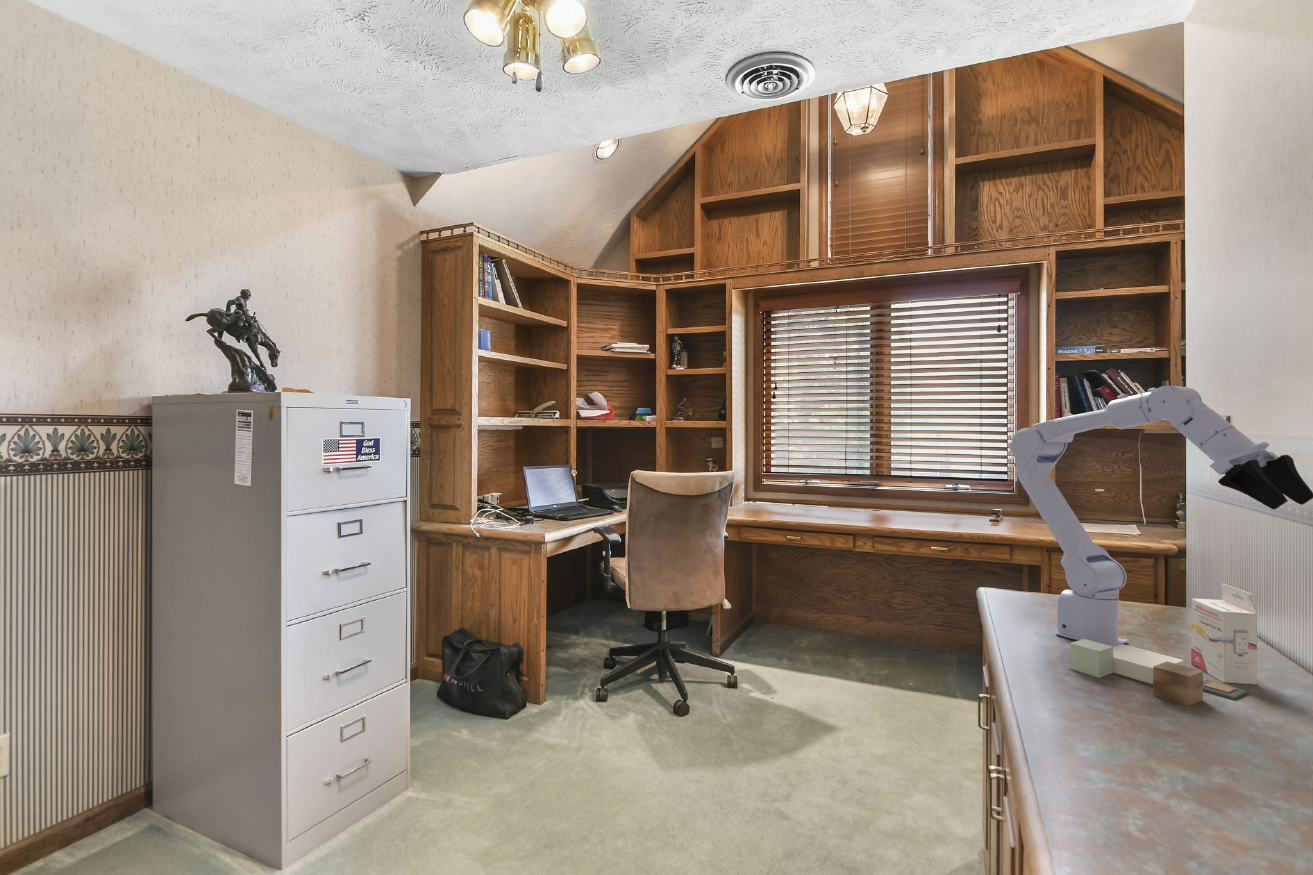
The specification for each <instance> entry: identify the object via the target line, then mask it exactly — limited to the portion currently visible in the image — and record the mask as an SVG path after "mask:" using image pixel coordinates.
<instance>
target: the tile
mask: <svg viewBox="0 0 1313 875" xmlns="http://www.w3.org/2000/svg"><path fill="white" fill-rule="evenodd" d="M1203 692H1206V693H1210V694H1213V695H1216V696H1220V697H1224V698H1227V699H1230V700H1232V701H1233V700H1234V701H1235V700H1236V699H1238V698H1241V697H1242V696H1245V695H1247V694H1248V693H1249V692H1248V690H1247V689H1244V688H1243V689H1242V688H1239V687H1235V686H1232V685H1228V684H1225V683H1223V682H1217V681H1213V680H1210V679H1203Z"/></svg>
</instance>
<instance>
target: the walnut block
mask: <svg viewBox="0 0 1313 875" xmlns="http://www.w3.org/2000/svg"><path fill="white" fill-rule="evenodd" d="M1203 681H1204V671H1203V670H1201V669H1196V668H1194V667H1190V666H1185V665H1184V666H1183V665H1179V664H1175V663H1172V662H1168V661H1167V662H1164V663H1161V664H1158V665H1156V666H1153V684H1152V695H1153V696H1155V695H1156V697H1159V698H1161V699H1165V700H1168V701H1172V702H1173V703H1174V702H1175V703H1178V704H1181V705H1184V704H1185V705H1184V706H1188V707H1191V706H1193V705H1195V704H1197V703H1199V701H1200V702H1202V701H1203V700H1204V691H1203ZM1192 704H1193V705H1192Z"/></svg>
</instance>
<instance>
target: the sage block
mask: <svg viewBox="0 0 1313 875" xmlns="http://www.w3.org/2000/svg"><path fill="white" fill-rule="evenodd" d="M1070 669H1071V670H1074V671H1076V670H1077V672H1079V673H1083V674H1086V675H1089V676H1092V677H1095V678H1100V679H1101V678H1102V677H1106V676H1108V675H1111V674H1113V673H1114V672H1113V647H1112V646H1109V645H1105V644H1101V643H1097V642H1094V641H1090V640H1086V639H1082V640H1079V641H1078V640H1075V641H1072V642H1070V643H1069V670H1070Z"/></svg>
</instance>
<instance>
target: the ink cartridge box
mask: <svg viewBox="0 0 1313 875" xmlns="http://www.w3.org/2000/svg"><path fill="white" fill-rule="evenodd" d="M1220 590H1221V591H1220V592H1221V599H1211V598H1208V599H1207V598H1191V631H1190V632H1191V637H1190V638H1191V640H1190V641H1191V645H1190V646H1191V648H1190V664H1191V665H1192V666H1195V667H1196V668H1198V669H1199V670H1201V671H1203V672H1205V673H1206V674H1208V675H1210V676H1212V677H1214V678H1215V679H1217V680H1219V681H1221V683H1223V684H1225V683H1230V684H1242V685H1244V684H1245V685H1257V684H1258V677H1257V676H1258V614H1257V604H1256V603H1257V602H1256V599H1257V598H1256V595H1255V594H1254V593H1253V592H1248V591H1246V590H1243V589H1242V588H1241V589H1240V588H1237V587H1235V586H1232V585H1229V584H1225V583H1224V582H1223V583H1220ZM1233 594H1234V595H1237V594H1238V595H1239V597H1242V598H1243V599H1239V598H1237V597H1235V596H1233Z"/></svg>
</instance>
